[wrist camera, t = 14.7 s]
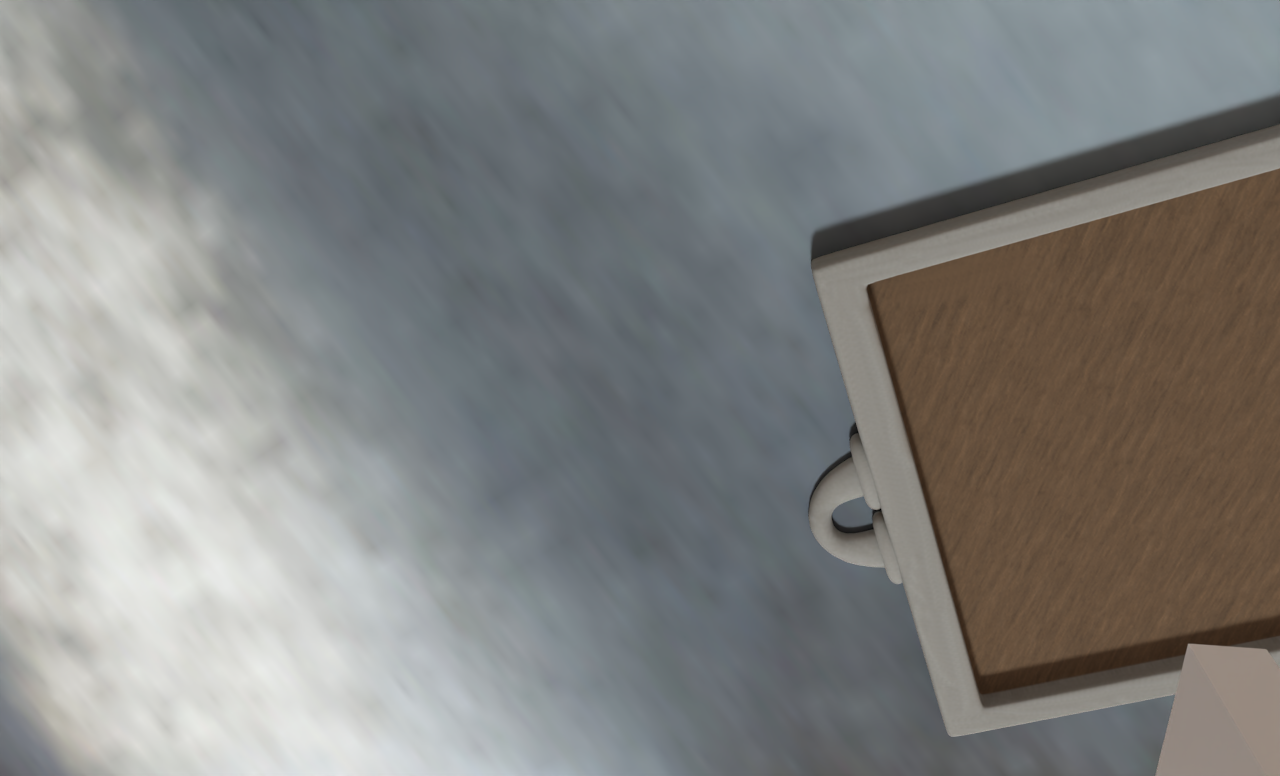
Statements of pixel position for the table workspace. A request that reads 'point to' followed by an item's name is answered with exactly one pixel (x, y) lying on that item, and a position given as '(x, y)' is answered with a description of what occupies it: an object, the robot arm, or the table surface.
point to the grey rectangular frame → (1070, 431)
